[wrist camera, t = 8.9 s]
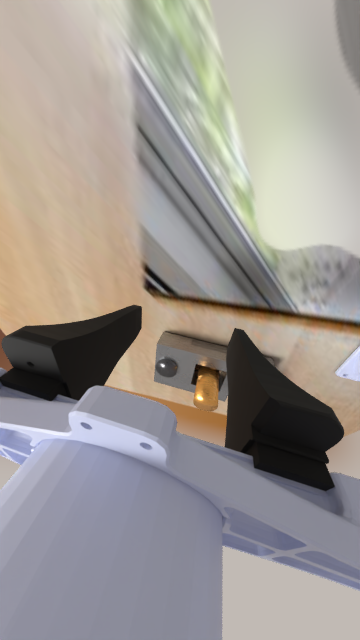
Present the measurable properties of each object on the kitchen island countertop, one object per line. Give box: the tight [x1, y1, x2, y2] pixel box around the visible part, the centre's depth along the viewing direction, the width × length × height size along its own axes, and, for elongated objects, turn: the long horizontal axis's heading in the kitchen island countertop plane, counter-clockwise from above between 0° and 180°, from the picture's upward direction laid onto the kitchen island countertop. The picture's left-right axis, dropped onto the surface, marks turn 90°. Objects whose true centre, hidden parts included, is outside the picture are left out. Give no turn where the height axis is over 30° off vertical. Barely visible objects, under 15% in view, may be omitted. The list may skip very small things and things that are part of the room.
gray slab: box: [154, 332, 275, 401], centre depth 25 cm, size 16×8×4 cm, turn 82°
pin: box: [193, 365, 219, 411], centre depth 23 cm, size 3×3×7 cm
